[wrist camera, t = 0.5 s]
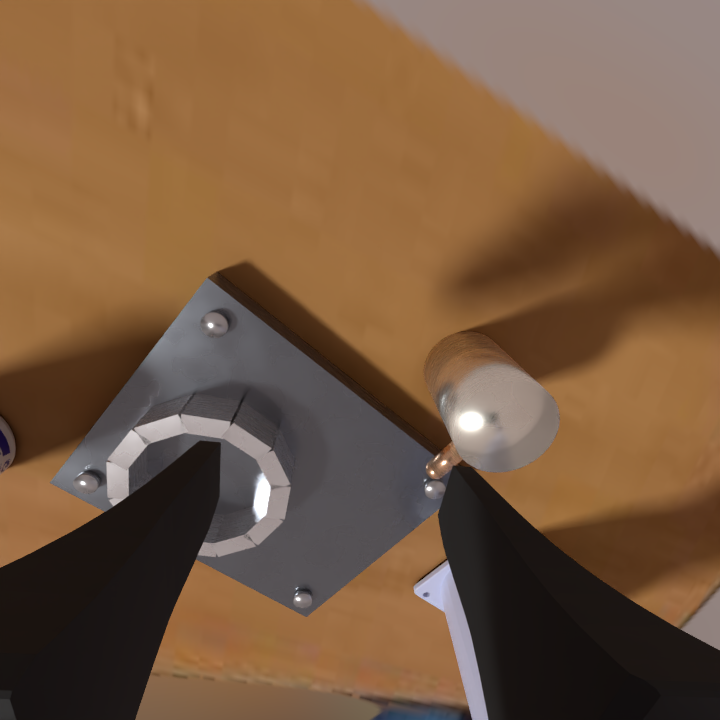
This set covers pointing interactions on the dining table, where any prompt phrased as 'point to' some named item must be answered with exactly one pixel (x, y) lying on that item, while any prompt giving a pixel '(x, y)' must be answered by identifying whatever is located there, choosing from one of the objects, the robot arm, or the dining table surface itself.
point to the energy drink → (6, 445)
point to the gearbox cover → (264, 450)
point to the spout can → (487, 406)
